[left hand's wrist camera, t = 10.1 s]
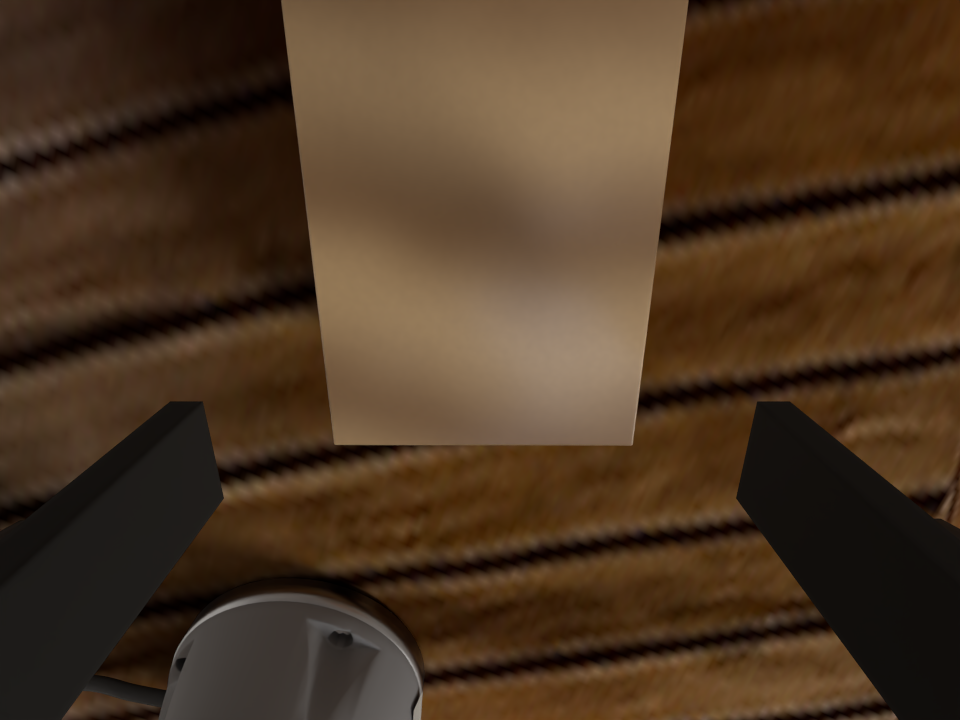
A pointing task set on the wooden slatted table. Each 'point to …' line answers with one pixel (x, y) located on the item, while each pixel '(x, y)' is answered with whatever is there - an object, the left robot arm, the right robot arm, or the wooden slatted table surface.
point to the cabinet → (484, 211)
